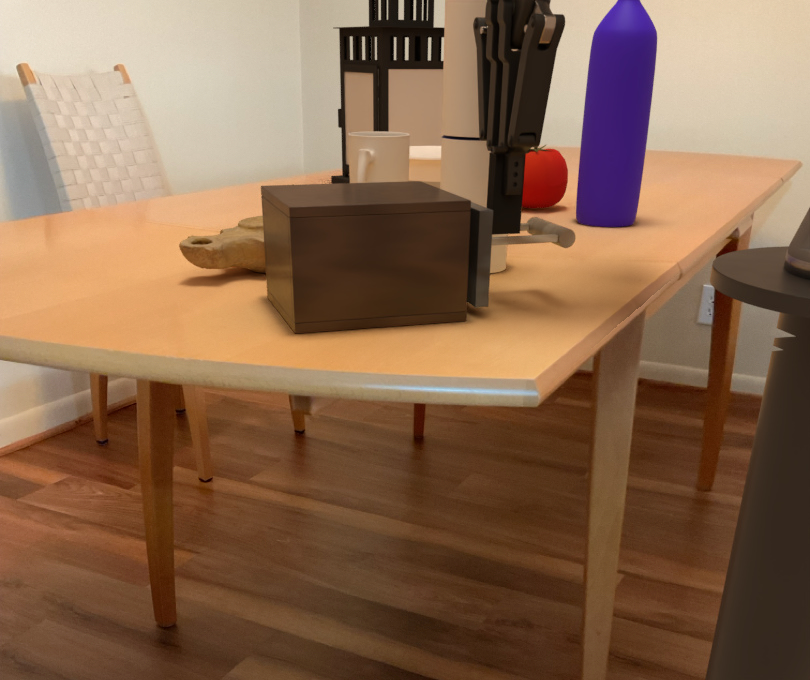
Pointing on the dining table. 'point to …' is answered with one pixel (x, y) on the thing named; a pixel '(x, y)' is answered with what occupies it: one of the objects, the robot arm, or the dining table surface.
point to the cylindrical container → (464, 114)
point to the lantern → (391, 77)
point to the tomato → (544, 178)
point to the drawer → (483, 241)
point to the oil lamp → (229, 247)
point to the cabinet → (365, 254)
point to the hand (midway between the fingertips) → (502, 232)
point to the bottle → (616, 116)
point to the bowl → (425, 164)
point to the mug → (379, 157)
